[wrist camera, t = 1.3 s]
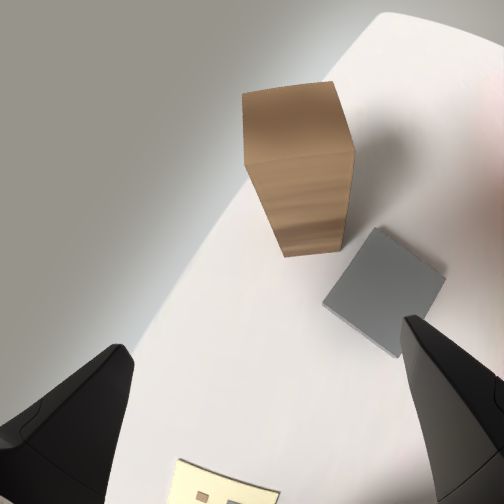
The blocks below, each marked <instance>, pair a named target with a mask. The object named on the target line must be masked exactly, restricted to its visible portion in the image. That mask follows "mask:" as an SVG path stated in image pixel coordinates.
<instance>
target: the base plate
mask: <svg viewBox="0 0 504 504" xmlns="http://www.w3.org/2000/svg"><path fill="white" fill-rule="evenodd" d="M445 280H446V278H445V277H443V276H442V275H441V274H439V273H438V272H437V271H436V270H434V269H433V268H432V267H430V266H429V265H428V264H426V263H425V262H423V261H422V260H421V259H419V258H418V257H417V256H415V255H414V254H412V253H411V252H410V251H408V250H407V249H405V248H404V247H403V246H401V245H400V244H398V243H397V242H396V241H394V240H393V239H391V238H390V237H388V236H387V235H385V234H384V233H382V232H381V231H379V230H378V229H376V228H374V229H373V231H372V232H371V234H370V235H369V237H368V238H367V240H366V241H365V243H364V244H363V246H362V247H361V249H360V250H359V252H358V253H357V255H356V256H355V257H354V259H353V260H352V262H351V263H350V265H349V266H348V268H347V269H346V270H345V272H344V273H343V275H342V276H341V277H340V279H339V280H338V282H337V283H336V284H335V286H334V287H333V289H332V290H331V291H330V293H329V294H328V295H327V297H326V298H325V299H324V301H323V302H322V305H323V306H324V307H325V308H327V309H328V310H329V311H331V312H332V313H333V314H335V315H336V316H338V317H339V318H340V319H342V320H343V321H344V322H346V323H347V324H348V325H350V326H351V327H352V328H354V329H355V330H357V331H358V332H359V333H361V334H362V335H363V336H365V337H366V338H367V339H369V340H370V341H371V342H373V343H374V344H376V345H377V346H378V347H380V348H381V349H382V350H384V351H385V352H386V353H388V354H389V355H391V356H392V357H393V358H399V356H400V355H401V353H402V349H401V345H400V332H401V325H402V319H403V317H405V316H409V315H414V314H416V315H418V316H419V317H421V318H422V319H424V317H425V316H426V314H427V312H428V311H429V309H430V307H431V305H432V304H433V302H434V300H435V298H436V297H437V295H438V293H439V291H440V289H441V287H442V285H443V284H444V282H445Z"/></svg>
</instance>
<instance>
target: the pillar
mask: <svg viewBox="0 0 504 504" xmlns="http://www.w3.org/2000/svg"><path fill="white" fill-rule="evenodd" d="M242 106H243V137H244V165H245V167H246V170H247V172H248V174H249V177H250V179H251V181H252V183H253V186H254V188H255V190H256V192H257V195H258V197H259V199H260V202H261V204H262V206H263V208H264V211H265V213H266V215H267V218H268V220H269V222H270V225H271V227H272V229H273V232H274V234H275V236H276V239H277V241H278V244H279V246H280V248H281V251H282V253H283V255H284V257H293V256H302V255H312V254H321V253H330V252H339V251H340V250H341V245H342V239H343V234H344V228H345V222H346V216H347V209H348V203H349V196H350V189H351V182H352V175H353V167H354V159H355V148H354V145H353V141H352V138H351V134H350V131H349V128H348V125H347V121H346V118H345V115H344V112H343V109H342V106H341V103H340V100H339V97H338V95H337V92H336V89H335V86H334V83H333V81H329V82H318V83H309V84H300V85H293V86H285V87H278V88H272V89H265V90H260V91H254V92H249V93H244V94H242Z"/></svg>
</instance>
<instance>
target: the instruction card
mask: <svg viewBox="0 0 504 504" xmlns="http://www.w3.org/2000/svg"><path fill="white" fill-rule="evenodd" d="M278 494H279V493H276V492H272V491H268V490H264V489H261V488H257V487H254V486H250V485H247V484H243V483H240V482H237V481H234V480H231V479H228V478H225V477H222V476H219V475H217V474H214V473H211V472H208V471H206V470H203V469H201V468H198V467H196V466H193V465H191V464H188V463H186V462H184V461H181V460H179V459H178V460H177V463H176V467H175V472H174V476H173V480H172V485H171V489H170V493H169V498H168V502H167V504H275V502H276V499H277V497H278Z"/></svg>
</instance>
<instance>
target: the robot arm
mask: <svg viewBox="0 0 504 504" xmlns="http://www.w3.org/2000/svg"><path fill="white" fill-rule="evenodd" d="M400 345H401V349H402V354H403V358H404V363H405V368H406V373H407V378H408V383H409V387H410V391H411V394H412V398H413V401H414V404H415V408H416V411H417V414H418V418H419V421H420V425H421V429H422V433H423V436H424V440H425V444H426V448H427V452H428V456H429V461H430V465H431V470H432V474H433V479H434V484H435V490H436V495H437V501H438V504H504V381H503V380H502V379H501V378H499V377H498V376H496V375H495V374H494V373H493V372H492V371H490V370H489V369H488V368H487V367H485V366H484V365H483V364H482V363H480V362H479V361H478V360H476V359H475V358H474V357H473V356H471V355H470V354H469V353H467V352H466V351H465V350H464V349H462V348H461V347H460V346H458V345H457V344H456V343H454V342H453V341H452V340H450V339H449V338H448V337H446V336H445V335H444V334H442V333H441V332H440V331H438V330H437V329H436V328H434V327H433V326H432V325H430V324H429V323H427V322H426V321H425V320H423V319H422V318H421V317H419V316H418V315H416V314H414V315H409V316H405V317H403V319H402V325H401V332H400ZM133 371H134V360H133V358H132V357H131V355H130V354H129V352H128V350H127V349H126V347H125V346H124V345H123V344H112V345H110V346H109V347H108V348H106V349H105V350H104V351H102V352H101V353H100V354H99V355H97V356H96V357H95V358H93V359H92V360H91V361H89V362H88V363H87V364H85V365H84V366H83V367H81V368H80V369H79V370H77V371H76V372H75V373H73V374H72V375H71V376H69V377H68V378H67V379H66V380H64V381H63V382H62V383H60V384H59V385H58V386H56V387H55V388H54V389H53V390H51V391H50V392H49V393H47V394H46V395H45V396H44V397H43V398H41V399H40V400H38V401H37V402H36V403H34V404H33V405H32V406H30V407H29V408H27V409H26V410H24V411H23V412H22V413H20V414H19V415H17V416H16V417H14V418H13V419H11V420H10V421H8V422H7V423H5V424H3V425H2V426H0V504H104V502H105V496H106V491H107V486H108V481H109V476H110V472H111V467H112V463H113V458H114V454H115V450H116V446H117V442H118V438H119V434H120V430H121V426H122V422H123V418H124V415H125V411H126V407H127V403H128V398H129V393H130V387H131V382H132V376H133Z"/></svg>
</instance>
